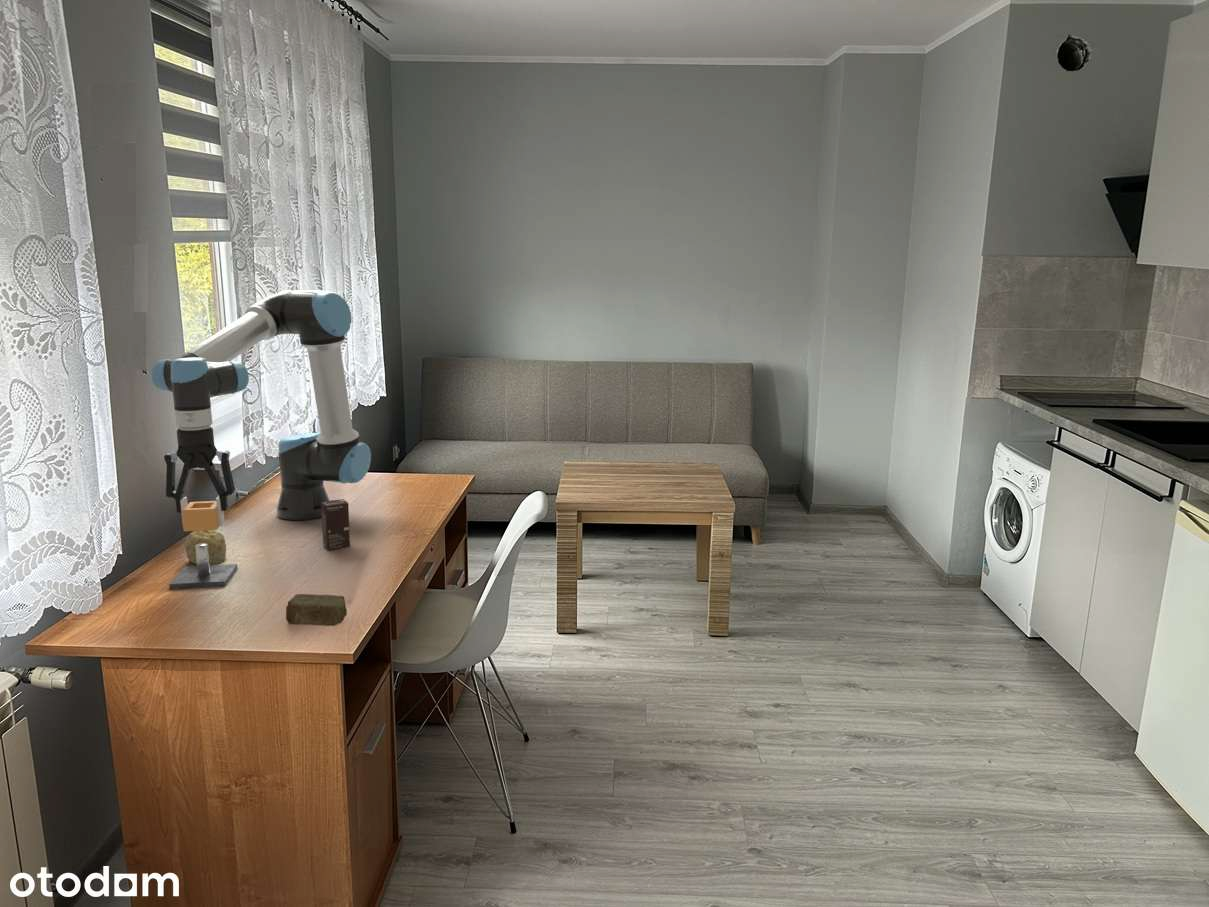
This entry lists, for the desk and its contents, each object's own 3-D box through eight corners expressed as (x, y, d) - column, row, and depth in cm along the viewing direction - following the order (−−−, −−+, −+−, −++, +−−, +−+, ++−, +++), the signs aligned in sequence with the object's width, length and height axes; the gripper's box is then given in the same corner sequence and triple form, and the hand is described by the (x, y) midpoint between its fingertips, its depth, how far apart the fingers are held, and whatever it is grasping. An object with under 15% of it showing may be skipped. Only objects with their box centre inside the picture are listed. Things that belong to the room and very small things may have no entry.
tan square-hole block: (192, 522, 214) (190, 502, 213) (223, 521, 216) (221, 500, 215) (183, 531, 208) (181, 510, 207) (216, 530, 209) (214, 508, 208)
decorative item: (227, 574, 228) (241, 537, 232) (202, 562, 219) (216, 523, 223) (196, 571, 231) (210, 534, 235) (170, 558, 222) (185, 520, 226)
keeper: (185, 571, 219) (181, 538, 218) (237, 568, 221) (234, 536, 219) (169, 589, 208) (165, 554, 206) (225, 586, 210) (222, 552, 208)
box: (328, 551, 234) (325, 505, 232) (323, 546, 238) (320, 501, 235) (351, 547, 237) (348, 502, 235) (345, 542, 241) (343, 498, 239)
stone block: (296, 614, 194) (295, 592, 193) (349, 617, 193) (348, 594, 192) (284, 625, 189) (283, 602, 187) (338, 628, 187) (337, 605, 186)
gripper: (142, 431, 202) (152, 531, 206) (237, 429, 205) (245, 527, 210) (152, 425, 209) (162, 522, 214) (244, 422, 212) (252, 518, 217)
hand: (204, 524), depth 212 cm, fingers closed on tan square-hole block, 7 cm apart
